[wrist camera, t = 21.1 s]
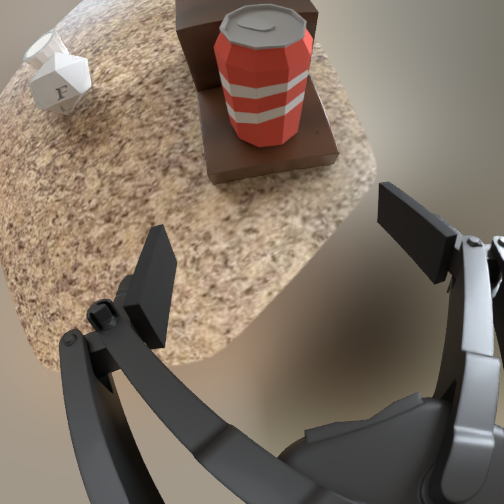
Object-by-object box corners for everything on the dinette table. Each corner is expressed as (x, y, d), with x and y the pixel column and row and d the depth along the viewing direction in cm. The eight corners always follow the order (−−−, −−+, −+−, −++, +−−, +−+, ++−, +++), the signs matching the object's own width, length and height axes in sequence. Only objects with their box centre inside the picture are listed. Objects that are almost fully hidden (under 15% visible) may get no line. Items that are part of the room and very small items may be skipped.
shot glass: (41, 88, 30) (19, 67, 23) (46, 65, 31) (27, 45, 24) (72, 67, 30) (51, 43, 23) (75, 46, 31) (58, 23, 24)
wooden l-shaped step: (194, 51, 29) (175, -12, 18) (285, 37, 29) (288, -28, 18) (212, 185, 26) (181, 124, 15) (334, 164, 26) (368, 99, 15)
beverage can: (250, 89, 25) (242, -6, 13) (309, 113, 24) (331, 17, 12) (219, 133, 24) (190, 38, 12) (281, 161, 24) (292, 66, 12)
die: (45, 131, 30) (28, 116, 21) (36, 81, 26) (21, 57, 18) (96, 109, 33) (93, 87, 24) (86, 61, 29) (83, 31, 21)
